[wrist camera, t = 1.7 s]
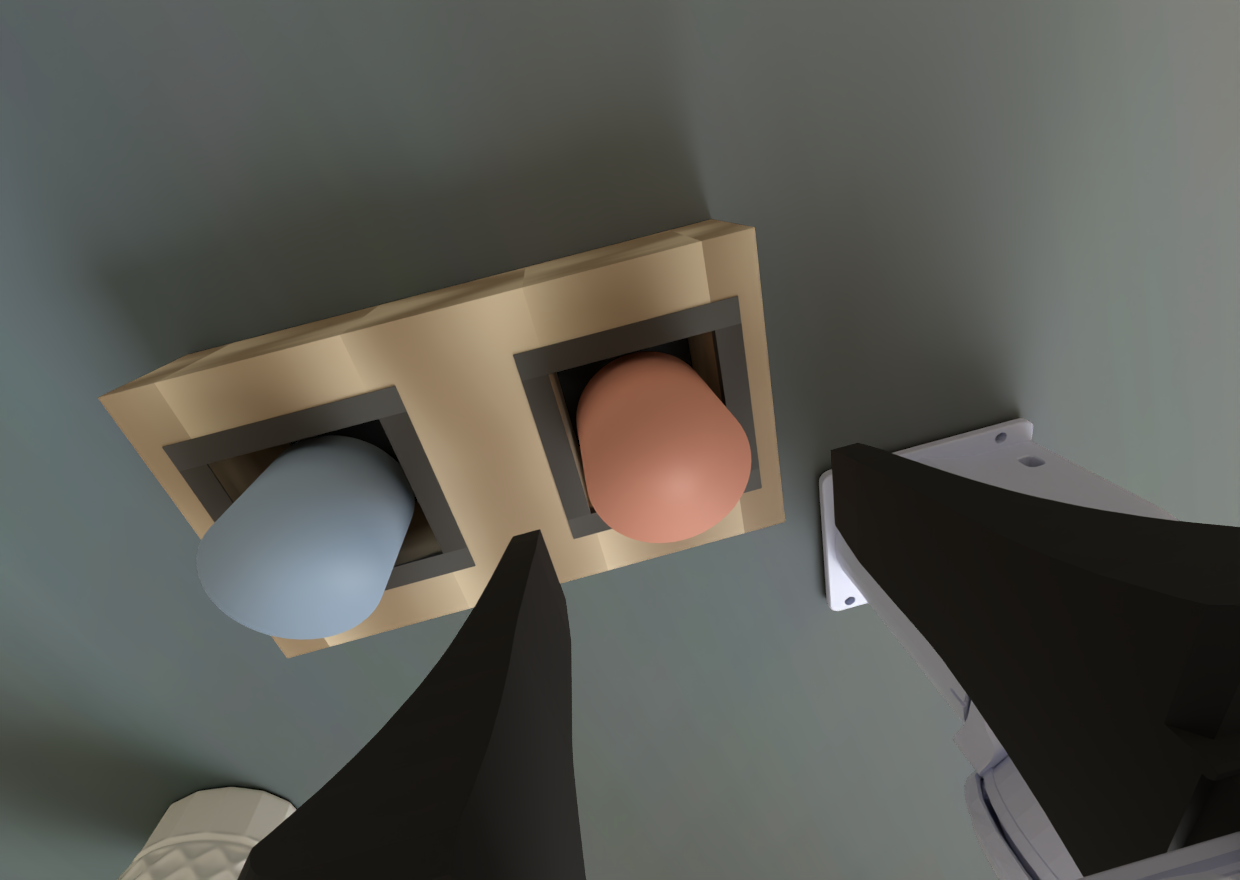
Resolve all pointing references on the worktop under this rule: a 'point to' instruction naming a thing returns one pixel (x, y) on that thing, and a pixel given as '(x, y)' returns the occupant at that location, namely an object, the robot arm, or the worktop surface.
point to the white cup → (208, 835)
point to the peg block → (472, 407)
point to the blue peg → (309, 540)
